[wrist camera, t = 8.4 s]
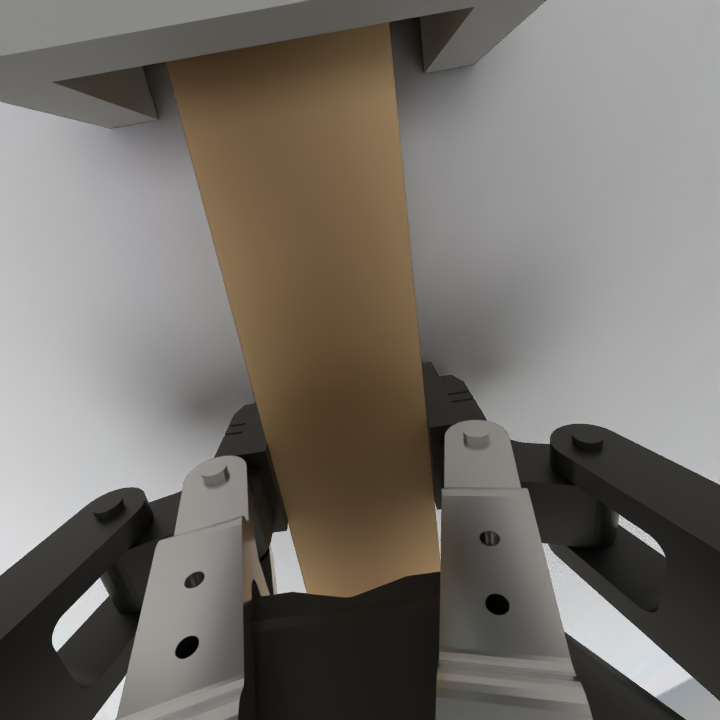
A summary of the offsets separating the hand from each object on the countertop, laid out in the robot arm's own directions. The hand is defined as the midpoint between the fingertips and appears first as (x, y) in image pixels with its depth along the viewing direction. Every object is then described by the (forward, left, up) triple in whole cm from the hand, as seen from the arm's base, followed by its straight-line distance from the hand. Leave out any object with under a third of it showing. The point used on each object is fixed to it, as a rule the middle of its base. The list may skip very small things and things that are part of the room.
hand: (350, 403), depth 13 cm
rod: (0, -4, -1) cm, 4 cm away
